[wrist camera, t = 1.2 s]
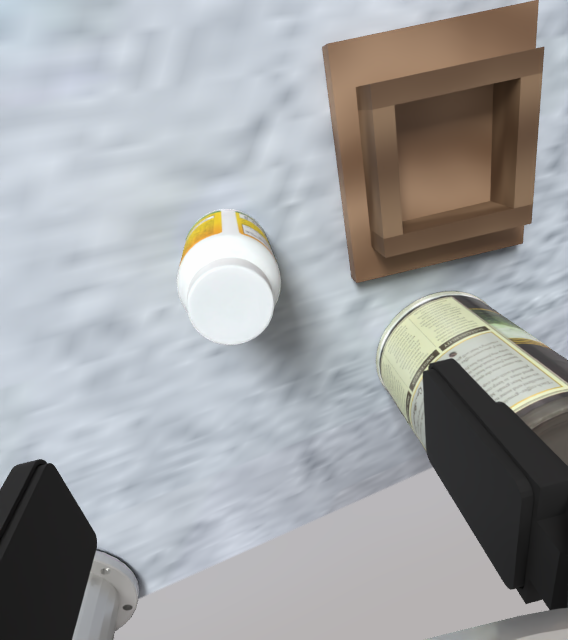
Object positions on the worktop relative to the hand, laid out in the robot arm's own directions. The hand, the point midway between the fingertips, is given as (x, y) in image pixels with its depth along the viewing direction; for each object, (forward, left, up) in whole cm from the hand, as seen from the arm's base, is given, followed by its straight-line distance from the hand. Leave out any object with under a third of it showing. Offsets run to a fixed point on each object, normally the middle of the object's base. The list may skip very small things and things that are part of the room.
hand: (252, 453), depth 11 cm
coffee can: (-12, -14, -20) cm, 27 cm away
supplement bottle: (0, 0, -20) cm, 20 cm away
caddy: (+3, -14, -19) cm, 24 cm away
